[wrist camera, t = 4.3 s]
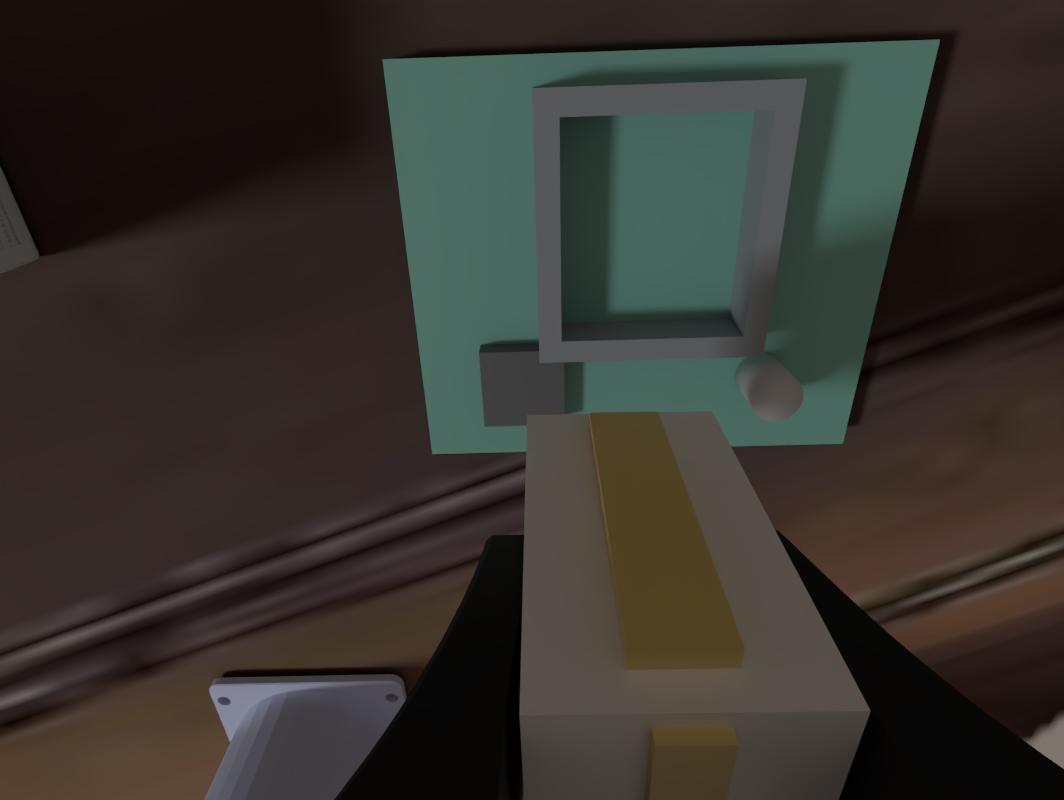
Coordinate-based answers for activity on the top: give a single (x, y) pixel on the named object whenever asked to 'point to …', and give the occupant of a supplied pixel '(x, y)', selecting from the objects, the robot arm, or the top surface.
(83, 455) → the top surface
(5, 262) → the small box
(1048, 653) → the top surface
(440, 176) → the board
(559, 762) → the plug
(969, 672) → the top surface
